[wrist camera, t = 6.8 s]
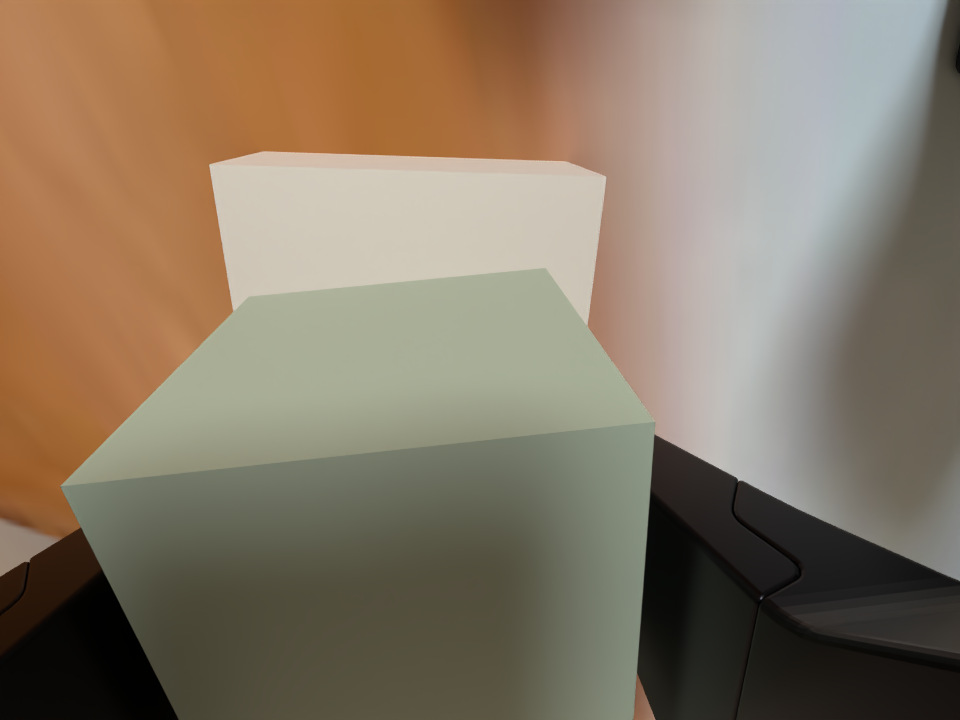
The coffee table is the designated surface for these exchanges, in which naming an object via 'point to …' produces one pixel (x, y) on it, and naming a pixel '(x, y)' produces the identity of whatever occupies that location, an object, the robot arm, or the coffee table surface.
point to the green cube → (384, 510)
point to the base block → (403, 221)
